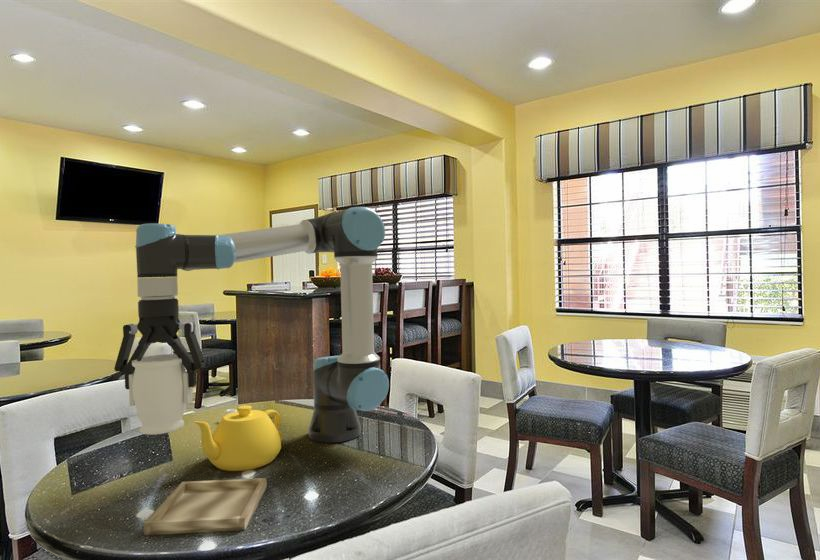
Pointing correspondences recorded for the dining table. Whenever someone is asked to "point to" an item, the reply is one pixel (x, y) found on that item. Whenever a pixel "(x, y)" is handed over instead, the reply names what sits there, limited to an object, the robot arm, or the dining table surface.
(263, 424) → the teapot
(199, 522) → the tray
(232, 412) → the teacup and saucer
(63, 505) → the dining table surface
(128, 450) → the dining table surface
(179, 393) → the jar
